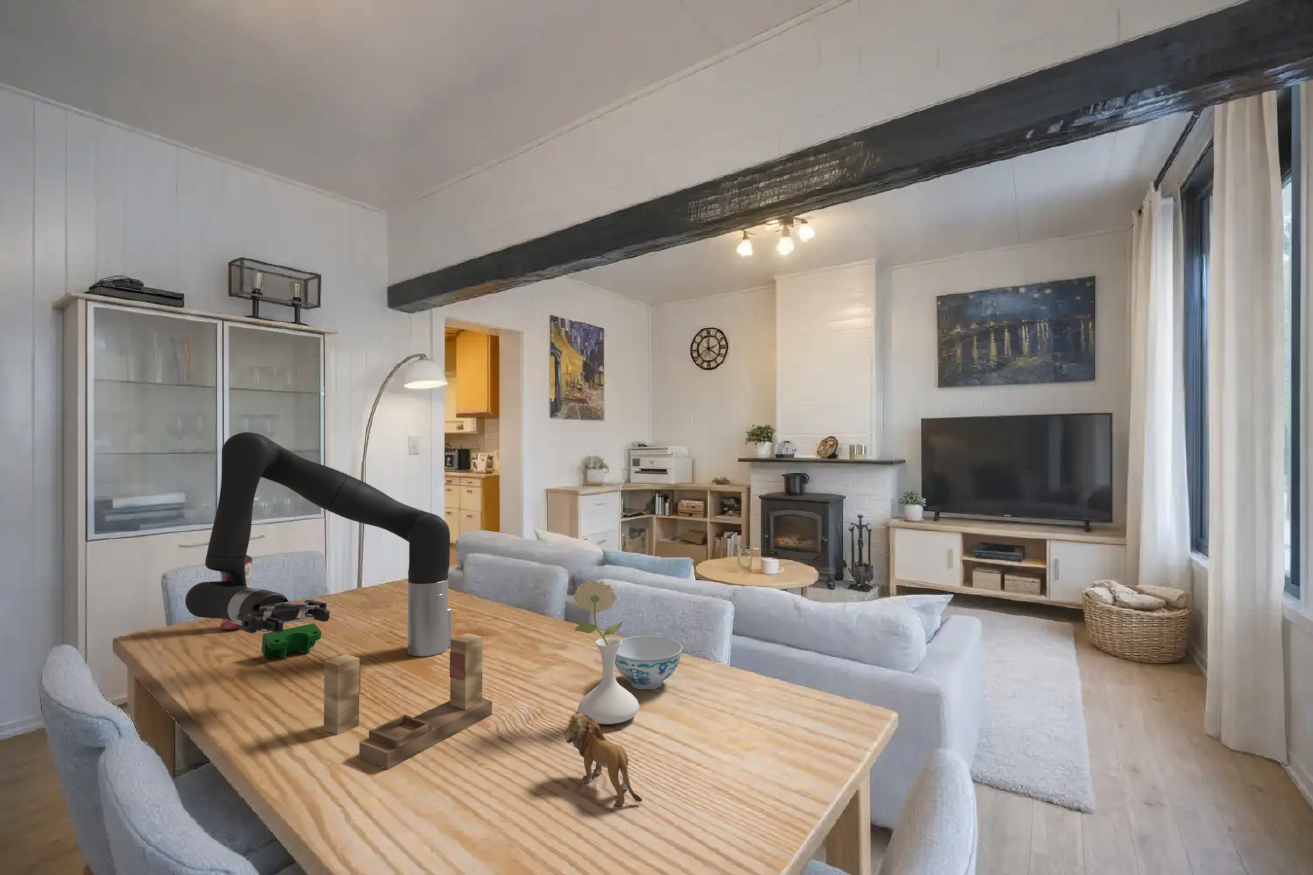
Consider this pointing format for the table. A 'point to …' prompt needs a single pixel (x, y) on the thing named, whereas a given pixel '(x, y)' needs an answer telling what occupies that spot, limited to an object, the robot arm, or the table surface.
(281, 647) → the clamp
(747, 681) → the table surface
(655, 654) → the chinaware
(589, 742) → the lion figurine
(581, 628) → the flower in vase
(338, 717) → the tall wooden pillar
